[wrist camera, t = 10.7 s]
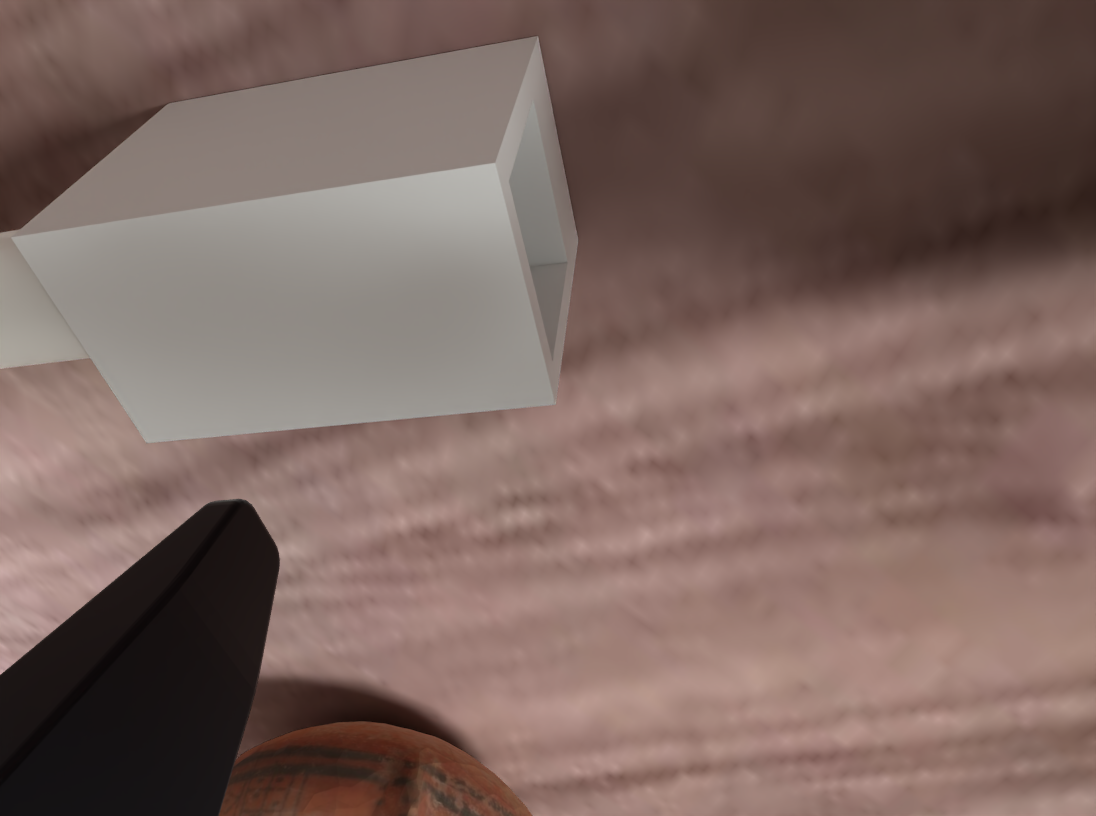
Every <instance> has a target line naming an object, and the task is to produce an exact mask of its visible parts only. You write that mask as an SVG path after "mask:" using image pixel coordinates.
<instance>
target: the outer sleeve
mask: <svg viewBox="0 0 1096 816" xmlns="http://www.w3.org/2000/svg"><path fill="white" fill-rule="evenodd" d="M11 239H12V240H13V242H14V243H15V245H16V246H17V248H18V249H19V251H20V252H21V254H22V255H23V257H24V258H25V260H26V261H27V263H28V264H29V266H30V267H31V269H32V270H33V272H34V273H35V275H36V276H37V278H38V279H39V281H40V283H41V284H42V286H43V287H44V289H45V290H46V292H47V293H48V295H49V296H50V298H51V299H52V301H53V302H54V304H55V305H56V307H57V308H58V310H59V311H60V313H61V314H62V316H63V317H64V319H65V320H66V322H67V323H68V325H69V326H70V328H71V329H72V331H73V332H74V334H75V336H76V337H77V339H78V340H79V342H80V343H81V345H82V346H83V348H84V349H85V351H86V352H87V354H88V355H89V357H90V358H91V360H92V361H93V363H94V364H95V366H96V367H97V369H98V370H99V372H100V373H101V375H102V376H103V378H104V379H105V381H106V382H107V384H108V385H109V387H110V388H111V390H112V392H113V393H114V395H115V396H116V398H117V399H118V401H119V402H120V404H121V405H122V407H123V408H124V410H125V411H126V413H127V414H128V416H129V417H130V419H131V420H132V422H133V423H134V425H135V426H136V428H137V429H138V431H139V432H140V434H141V435H142V437H143V438H144V440H145V441H146V443H155V442H165V441H176V440H186V439H197V438H208V437H218V436H229V435H240V434H250V433H261V432H271V431H282V430H293V429H303V428H314V427H324V426H335V425H346V424H356V423H367V422H377V421H388V420H399V419H409V418H420V417H431V416H441V415H452V414H462V413H473V412H484V411H494V410H505V409H515V408H526V407H537V406H547V405H556V399H557V392H558V385H559V377H560V370H561V363H562V356H563V348H564V341H565V334H566V327H567V319H568V312H569V305H570V298H571V290H572V283H573V276H574V269H575V261H576V254H577V247H578V236H577V231H576V226H575V221H574V215H573V210H572V205H571V200H570V195H569V190H568V185H567V180H566V175H565V170H564V165H563V160H562V155H561V150H560V145H559V140H558V135H557V130H556V124H555V119H554V114H553V109H552V104H551V99H550V94H549V89H548V84H547V79H546V74H545V69H544V64H543V59H542V54H541V49H540V44H539V39H538V36H535V37H529V38H524V39H518V40H513V41H507V42H502V43H496V44H491V45H485V46H480V47H474V48H469V49H464V50H458V51H453V52H447V53H442V54H436V55H431V56H425V57H420V58H414V59H409V60H403V61H398V62H392V63H387V64H381V65H376V66H370V67H365V68H360V69H354V70H349V71H343V72H338V73H332V74H327V75H321V76H316V77H310V78H305V79H299V80H294V81H288V82H283V83H277V84H272V85H266V86H261V87H256V88H250V89H245V90H239V91H234V92H228V93H223V94H217V95H212V96H206V97H201V98H195V99H190V100H184V101H179V102H173V103H168V104H167V105H166V106H165V107H164V108H162V109H161V110H160V111H159V112H158V113H156V114H155V115H154V116H153V117H152V118H151V119H149V120H148V121H147V122H146V123H145V124H144V125H142V126H141V127H140V128H139V129H138V130H136V131H135V132H134V133H133V134H132V135H131V136H129V137H128V138H127V139H126V140H125V141H124V142H122V143H121V144H120V145H119V146H118V147H116V148H115V149H114V150H113V151H112V152H111V153H109V154H108V155H107V156H106V157H105V158H104V159H102V160H101V161H100V162H99V163H98V164H96V165H95V166H94V167H93V168H92V169H91V170H89V171H88V172H87V173H86V174H85V175H84V176H82V177H81V178H80V179H79V180H78V181H76V182H75V183H74V184H73V185H72V186H71V187H69V188H68V189H67V190H66V191H65V192H64V193H62V194H61V195H60V196H59V197H58V198H56V199H55V200H54V201H53V202H52V203H51V204H49V205H48V206H47V207H46V208H45V209H44V210H42V211H41V212H40V213H39V214H38V215H36V216H35V217H34V218H33V219H32V220H31V221H29V222H28V223H27V224H26V225H25V226H24V227H22V228H21V229H20V230H19V231H18V232H16V233H15V234H14V235H13V236H12V237H11Z"/></svg>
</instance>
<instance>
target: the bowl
mask: <svg viewBox="0 0 1096 816" xmlns="http://www.w3.org/2000/svg"><path fill="white" fill-rule="evenodd" d="M219 816H532V814H531V813H530V812H529V810H528V809H527V807H526V806H525V805H524V804H523V803H522V802H521V800H520V799H519V798H518V797H517V796H516V795H515V794H514V793H513V792H512V790H511V789H510V788H509V787H508V786H507V785H506V784H505V783H504V782H503V781H502V780H501V779H500V778H498V777H497V776H496V775H495V774H494V773H493V772H491V771H490V770H489V769H488V768H486V767H485V766H484V765H482V764H481V763H480V762H478V761H477V760H476V759H474V758H473V757H472V756H470V755H469V754H467V753H466V752H464V751H462V750H460V749H459V748H457V747H455V746H453V745H451V744H450V743H448V742H446V741H444V740H441V739H439V738H437V737H435V736H431V735H428V734H424V733H420V732H417V731H414V730H411V729H407V728H401V727H397V726H393V725H389V724H385V723H376V722H366V721H356V722H337V723H332V724H326V725H320V726H315V727H309V728H305V729H301V730H296V731H293V732H290V733H288V734H285V735H282V736H280V737H277V738H274V739H272V740H269V741H266V742H264V743H262V744H261V745H258V746H256V747H254V748H252V749H250V750H248V751H247V752H245V753H243V754H241V755H240V756H239V757H238V759H237V760H236V761H235V763H234V767H233V770H232V773H231V777H230V780H229V783H228V787H227V790H226V793H225V797H224V800H223V803H222V807H221V810H220V813H219Z"/></svg>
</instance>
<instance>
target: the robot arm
mask: <svg viewBox="0 0 1096 816" xmlns="http://www.w3.org/2000/svg"><path fill="white" fill-rule="evenodd" d="M279 566H280V558H279V552H278V549H277V546H276V544H275V542H274V541H273V539H272V537H271V536H270V534H269V532H268V530H267V529H266V527H265V525H264V524H263V522H262V520H261V519H260V517H259V515H258V514H257V512H256V510H255V509H254V507H253V506H252V504H250V503H249V502H248V501H246V500H242V499H233V500H221V501H214V502H210V503H208V504H206V505H205V506H204V507H202V508H201V509H200V510H199V511H198V512H196V513H195V514H194V515H193V516H192V517H190V518H189V519H188V520H187V521H186V522H184V523H183V524H182V525H181V526H180V527H178V528H177V529H176V530H175V531H173V532H172V533H171V534H170V535H169V536H167V537H166V538H165V539H164V540H163V541H161V542H160V543H159V544H158V545H157V546H155V547H154V548H153V549H152V550H151V551H149V552H148V553H147V554H146V555H145V556H143V557H142V558H141V559H140V560H139V561H137V562H136V563H135V564H134V565H132V566H131V567H130V568H129V569H128V570H126V571H125V572H124V573H123V574H122V575H120V576H119V577H118V578H117V579H116V580H114V581H113V582H112V583H111V584H110V585H108V586H107V587H106V588H105V589H104V590H102V591H101V592H100V593H99V594H97V595H96V596H95V597H94V598H93V599H91V600H90V601H89V602H88V603H87V604H85V605H84V606H83V607H82V608H81V609H79V610H78V611H77V612H76V613H75V614H73V615H72V616H71V617H70V618H69V619H67V620H66V621H65V622H64V623H62V624H61V625H60V626H59V627H58V628H56V629H55V630H54V631H53V632H52V633H50V634H49V635H48V636H47V637H46V638H44V639H43V640H42V641H41V642H40V643H38V644H37V645H36V646H35V647H34V648H32V649H31V650H30V651H29V652H27V653H26V654H25V655H24V656H23V657H21V658H20V659H19V660H18V661H17V662H15V663H14V664H13V665H12V666H11V667H9V668H8V669H7V670H6V671H5V672H3V673H2V674H1V675H0V816H219V813H220V810H221V807H222V803H223V800H224V797H225V793H226V790H227V787H228V783H229V780H230V777H231V773H232V770H233V767H234V763H235V760H236V757H237V753H238V750H239V747H240V743H241V740H242V737H243V733H244V730H245V727H246V723H247V720H248V717H249V713H250V710H251V706H252V702H253V699H254V695H255V691H256V687H257V683H258V678H259V674H260V669H261V663H262V658H263V653H264V647H265V642H266V637H267V631H268V626H269V621H270V615H271V610H272V605H273V599H274V594H275V589H276V583H277V578H278V573H279Z"/></svg>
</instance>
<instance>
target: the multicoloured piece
mask: <svg viewBox="0 0 1096 816" xmlns="http://www.w3.org/2000/svg"><path fill="white" fill-rule="evenodd" d="M18 231H19V230H14V231H7V232H1V233H0V369H3V368H12V367H20V366H29V365H37V364H46V363H54V362H62V361H71V360H79V359H88V358H90V357H89V355H88V354H87V352H86V351H85V349H84V348H83V346H82V345H81V343H80V342H79V340H78V339H77V337H76V336H75V334H74V332H73V331H72V329H71V328H70V326H69V325H68V323H67V322H66V320H65V319H64V317H63V316H62V314H61V313H60V311H59V310H58V308H57V307H56V305H55V304H54V302H53V301H52V299H51V298H50V296H49V295H48V293H47V292H46V290H45V289H44V287H43V286H42V284H41V283H40V281H39V279H38V278H37V276H36V275H35V273H34V272H33V270H32V269H31V267H30V266H29V264H28V263H27V261H26V260H25V258H24V257H23V255H22V254H21V252H20V251H19V249H18V248H17V246H16V245H15V243H14V242H13V240H12V239H11V237H12V236H13V235H14V234H15V233H16V232H18Z"/></svg>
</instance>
